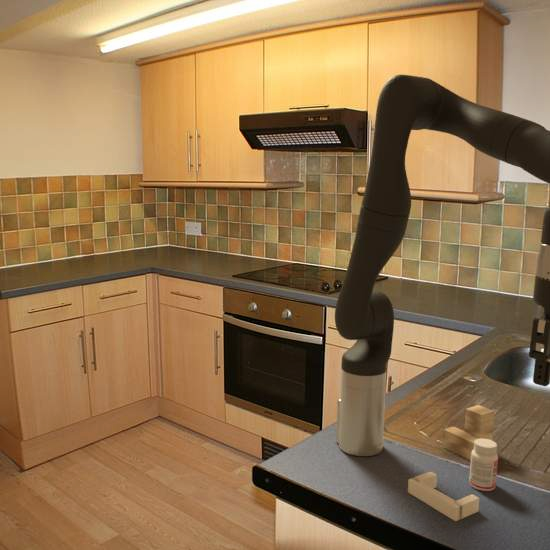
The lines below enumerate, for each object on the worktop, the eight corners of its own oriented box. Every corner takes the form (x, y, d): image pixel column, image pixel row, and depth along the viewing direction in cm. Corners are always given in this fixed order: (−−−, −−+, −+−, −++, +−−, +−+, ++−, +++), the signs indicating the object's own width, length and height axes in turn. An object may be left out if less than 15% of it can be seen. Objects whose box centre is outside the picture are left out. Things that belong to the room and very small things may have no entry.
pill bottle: (498, 493, 110) (501, 449, 108) (470, 490, 111) (474, 447, 109) (493, 480, 115) (496, 438, 113) (467, 477, 115) (470, 436, 114)
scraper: (442, 447, 128) (444, 406, 127) (464, 439, 132) (467, 400, 130) (481, 466, 120) (484, 423, 118) (503, 457, 124) (507, 416, 122)
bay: (407, 492, 110) (408, 479, 109) (430, 483, 113) (430, 471, 112) (455, 521, 101) (456, 507, 100) (478, 511, 104) (479, 498, 103)
